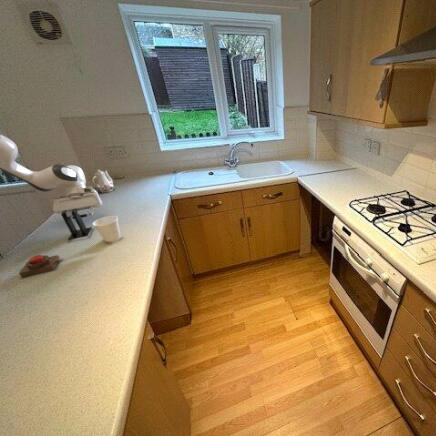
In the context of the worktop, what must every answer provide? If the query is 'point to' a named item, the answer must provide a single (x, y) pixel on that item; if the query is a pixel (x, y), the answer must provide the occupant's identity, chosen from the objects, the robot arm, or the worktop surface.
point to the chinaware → (103, 182)
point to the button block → (40, 266)
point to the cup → (108, 228)
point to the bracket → (73, 230)
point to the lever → (69, 214)
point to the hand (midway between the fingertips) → (80, 217)
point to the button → (36, 259)
